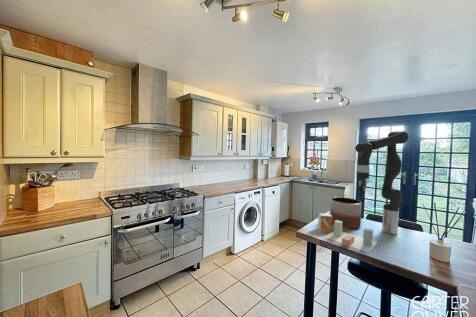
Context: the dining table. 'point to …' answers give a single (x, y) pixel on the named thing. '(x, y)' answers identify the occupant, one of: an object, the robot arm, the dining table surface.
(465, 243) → the dining table surface
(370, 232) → the slate blue block
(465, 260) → the dining table surface
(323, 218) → the small box
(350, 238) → the terracotta block
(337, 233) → the sage block
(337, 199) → the planter
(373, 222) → the dining table surface
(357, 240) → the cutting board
